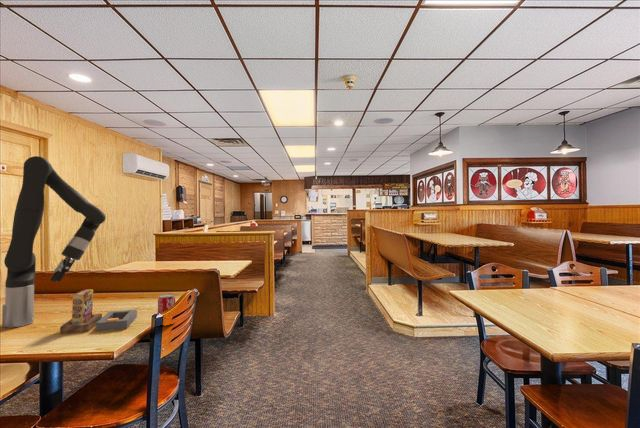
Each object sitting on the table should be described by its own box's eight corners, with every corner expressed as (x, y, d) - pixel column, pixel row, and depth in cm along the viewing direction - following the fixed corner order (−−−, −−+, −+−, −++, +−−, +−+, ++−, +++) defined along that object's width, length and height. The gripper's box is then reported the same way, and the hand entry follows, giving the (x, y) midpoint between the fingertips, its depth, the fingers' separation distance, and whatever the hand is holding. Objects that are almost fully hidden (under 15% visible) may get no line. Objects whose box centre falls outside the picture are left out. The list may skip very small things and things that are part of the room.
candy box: (82, 329, 131) (83, 294, 131) (70, 330, 130) (71, 294, 130) (93, 322, 140) (93, 289, 140) (82, 323, 139) (82, 289, 139)
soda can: (168, 327, 135) (168, 297, 135) (153, 326, 136) (154, 296, 136) (178, 322, 142) (179, 293, 142) (165, 320, 143) (165, 292, 143)
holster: (60, 334, 127) (60, 326, 127) (76, 321, 141) (76, 315, 141) (88, 331, 130) (89, 324, 130) (101, 319, 144) (102, 313, 144)
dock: (95, 331, 130) (96, 321, 130) (109, 318, 145) (109, 309, 145) (127, 328, 133) (127, 318, 133) (136, 316, 149) (137, 307, 149)
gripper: (63, 246, 148) (41, 278, 140) (71, 243, 139) (48, 277, 131) (80, 252, 152) (60, 284, 145) (89, 250, 144) (68, 283, 136)
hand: (54, 281), depth 138 cm, fingers open, 8 cm apart
